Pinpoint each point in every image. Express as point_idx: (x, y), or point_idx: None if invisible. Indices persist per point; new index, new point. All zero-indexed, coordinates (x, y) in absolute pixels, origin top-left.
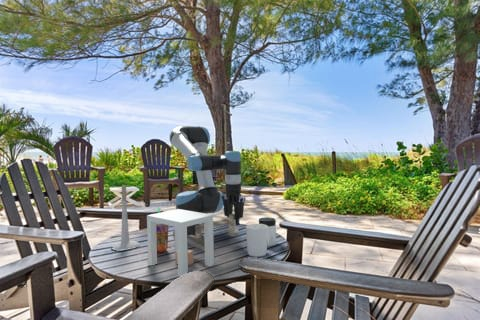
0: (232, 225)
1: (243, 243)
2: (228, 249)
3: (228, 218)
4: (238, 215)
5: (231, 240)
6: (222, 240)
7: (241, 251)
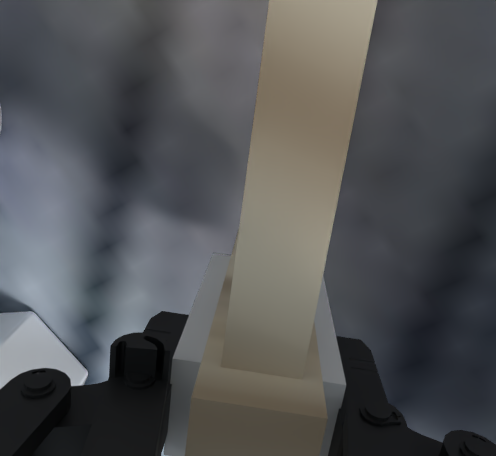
0: (230, 281)
1: (193, 293)
2: (217, 66)
3: (238, 242)
4: (26, 415)
5: (346, 320)
6: (431, 283)
7: (69, 78)
